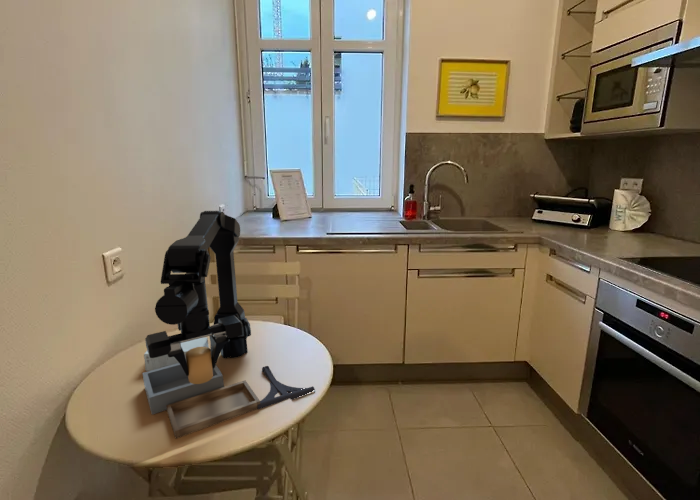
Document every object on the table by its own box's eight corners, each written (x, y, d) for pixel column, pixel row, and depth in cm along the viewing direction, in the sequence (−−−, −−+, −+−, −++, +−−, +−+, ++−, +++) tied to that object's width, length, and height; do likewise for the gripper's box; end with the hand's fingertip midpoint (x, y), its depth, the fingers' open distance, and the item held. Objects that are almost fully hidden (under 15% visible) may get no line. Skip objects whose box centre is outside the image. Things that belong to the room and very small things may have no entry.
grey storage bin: (211, 371, 107) (209, 354, 106) (224, 393, 98) (222, 375, 96) (145, 391, 99) (142, 372, 98) (152, 417, 89) (149, 397, 88)
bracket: (289, 367, 110) (289, 358, 110) (314, 394, 98) (315, 384, 98) (237, 381, 103) (237, 371, 102) (258, 412, 90) (258, 401, 90)
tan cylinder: (209, 368, 90) (207, 344, 89) (215, 379, 86) (213, 353, 85) (186, 375, 88) (183, 350, 86) (191, 386, 84) (188, 360, 82)
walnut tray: (246, 389, 99) (245, 380, 99) (260, 410, 91) (260, 401, 91) (167, 415, 90) (166, 405, 89) (176, 441, 82) (174, 431, 81)
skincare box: (145, 373, 107) (202, 371, 108) (142, 353, 105) (201, 351, 106) (157, 357, 115) (210, 355, 116) (154, 338, 113) (209, 336, 114)
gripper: (226, 284, 94) (231, 344, 98) (137, 300, 84) (147, 367, 88) (241, 298, 85) (247, 364, 89) (144, 319, 75) (155, 392, 79)
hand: (200, 371), depth 87 cm, fingers closed on tan cylinder, 5 cm apart
